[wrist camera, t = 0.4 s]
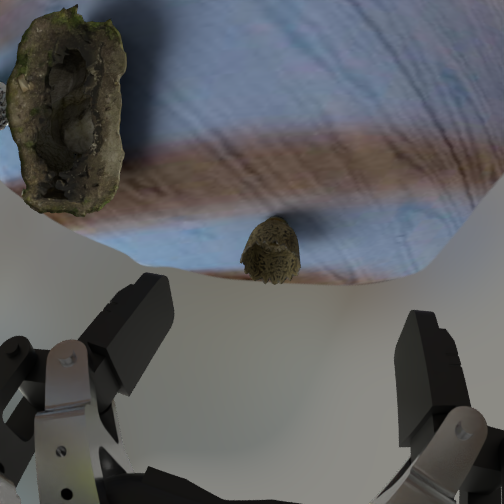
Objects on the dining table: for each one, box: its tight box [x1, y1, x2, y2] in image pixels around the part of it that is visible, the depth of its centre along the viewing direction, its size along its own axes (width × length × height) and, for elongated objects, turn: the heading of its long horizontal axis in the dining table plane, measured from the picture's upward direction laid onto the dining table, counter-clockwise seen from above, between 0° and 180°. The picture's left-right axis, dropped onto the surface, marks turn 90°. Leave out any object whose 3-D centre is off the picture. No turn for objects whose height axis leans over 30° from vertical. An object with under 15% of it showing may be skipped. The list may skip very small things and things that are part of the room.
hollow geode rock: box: [5, 4, 127, 217], centre depth 30 cm, size 28×13×15 cm
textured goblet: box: [240, 216, 301, 285], centre depth 42 cm, size 8×7×8 cm
